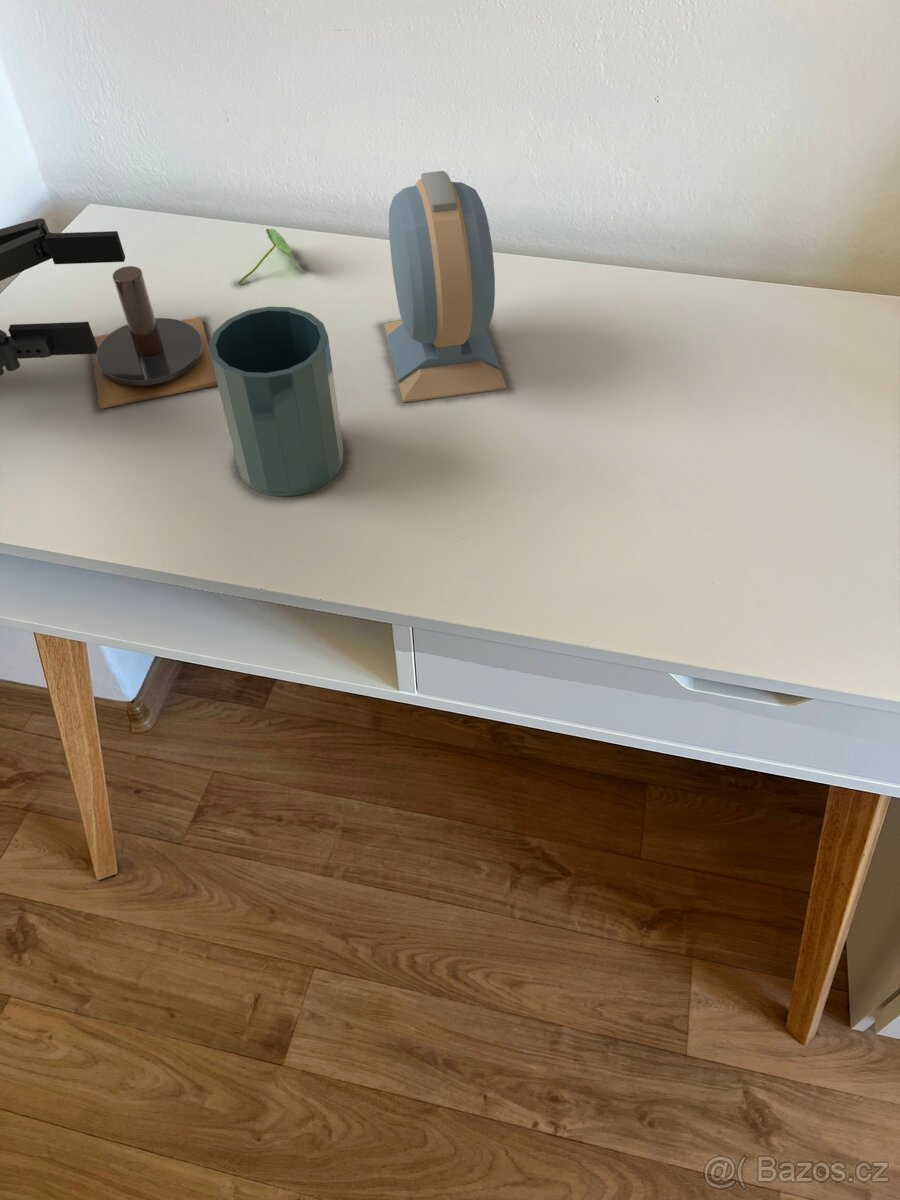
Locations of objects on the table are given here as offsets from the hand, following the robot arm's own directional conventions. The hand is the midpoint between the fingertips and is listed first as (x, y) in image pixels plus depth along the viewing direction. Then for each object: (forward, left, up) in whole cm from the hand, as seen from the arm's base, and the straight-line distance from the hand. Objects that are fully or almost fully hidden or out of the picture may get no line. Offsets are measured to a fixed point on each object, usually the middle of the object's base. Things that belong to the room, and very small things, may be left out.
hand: (107, 290), depth 89 cm
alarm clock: (+29, -6, -10) cm, 31 cm away
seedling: (+16, +15, -10) cm, 24 cm away
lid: (+2, +2, -9) cm, 9 cm away
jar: (+12, -16, -10) cm, 22 cm away
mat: (+2, +2, -10) cm, 10 cm away
